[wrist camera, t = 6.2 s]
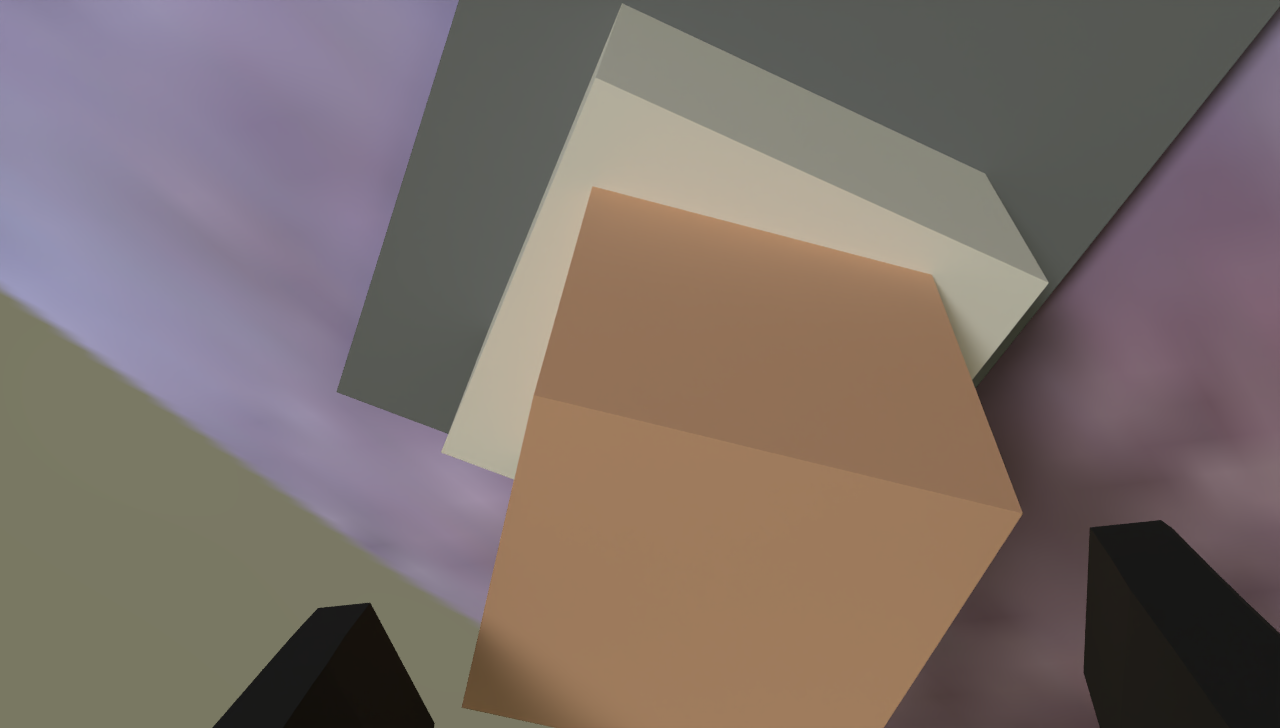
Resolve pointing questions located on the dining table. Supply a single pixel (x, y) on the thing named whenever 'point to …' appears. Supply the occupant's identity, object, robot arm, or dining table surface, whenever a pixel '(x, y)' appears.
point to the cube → (736, 486)
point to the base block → (741, 205)
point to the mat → (810, 58)
